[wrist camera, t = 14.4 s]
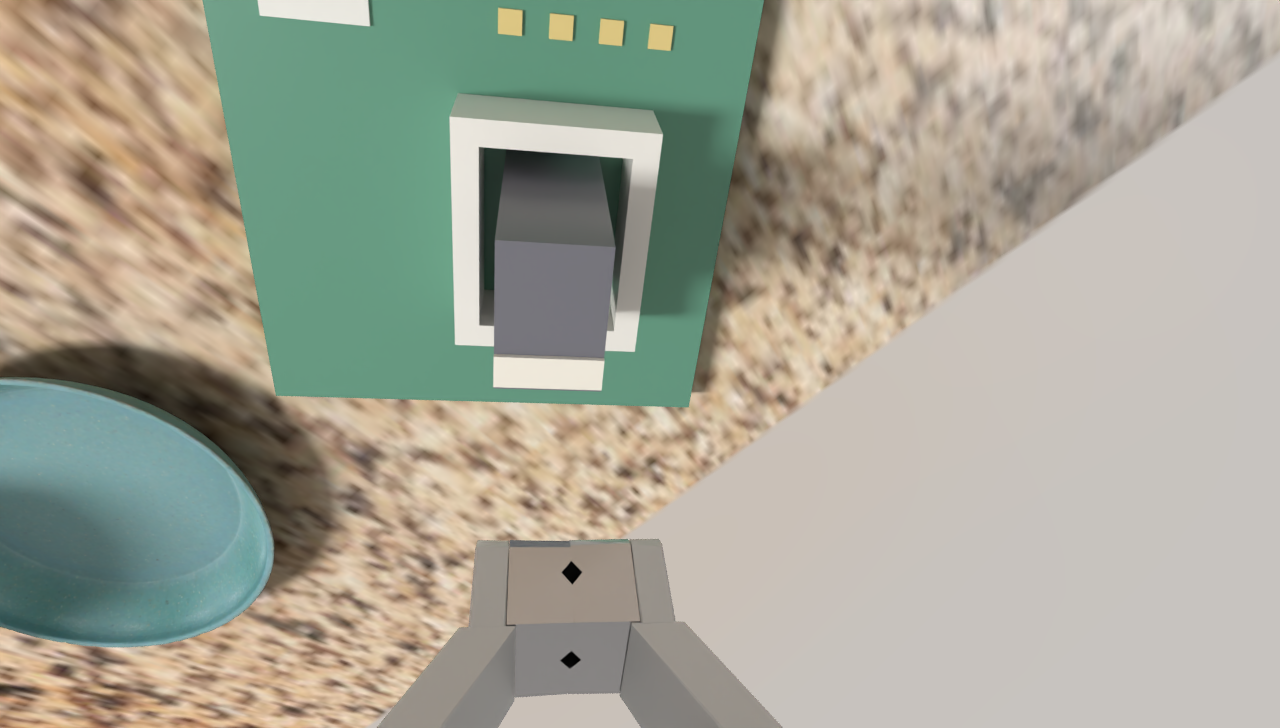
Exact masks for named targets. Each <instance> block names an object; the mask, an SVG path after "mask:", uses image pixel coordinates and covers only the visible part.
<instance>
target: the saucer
mask: <svg viewBox="0 0 1280 728" xmlns="http://www.w3.org/2000/svg"><path fill="white" fill-rule="evenodd" d="M273 561H274V539H273V533H272V530H271V527H270V523H269V521H268V518H267V516H266V513H265V511H264V509H263V506H262V504H261V502H260V500H259V498H258V496H257V494H256V493H255V491H254V489H253V487H252V486H251V484H250V483H249V481H248V480H247V478H246V477H245V476H244V474H243V473H242V472H241V470H240V469H239V468H238V467H237V466H236V464H235V463H234V462H233V461H232V460H231V459H230V458H229V457H228V456H227V455H226V454H225V453H224V452H223V451H222V450H221V449H220V448H219V447H218V446H217V445H216V444H215V443H213V442H212V441H211V440H210V439H208V438H207V437H206V436H205V435H203V434H202V433H201V432H199V431H198V430H196V429H195V428H193V427H192V426H190V425H189V424H187V423H186V422H184V421H183V420H181V419H179V418H177V417H176V416H174V415H172V414H170V413H168V412H166V411H164V410H162V409H160V408H158V407H156V406H154V405H152V404H149V403H147V402H145V401H142V400H139V399H137V398H134V397H131V396H128V395H125V394H122V393H119V392H116V391H113V390H109V389H105V388H101V387H97V386H92V385H87V384H82V383H77V382H72V381H64V380H57V379H46V378H30V377H0V627H3V628H7V629H9V630H13V631H16V632H19V633H23V634H27V635H30V636H34V637H38V638H42V639H47V640H52V641H57V642H66V643H69V644H77V645H83V646H97V647H138V646H152V645H161V644H167V643H172V642H175V641H181V640H185V639H187V638H192V637H195V636H198V635H200V634H202V633H206V632H209V631H212V630H214V629H216V628H218V627H220V626H222V625H224V624H226V623H228V622H229V621H231V620H232V619H234V618H235V617H237V616H239V615H240V614H241V613H242V612H243V611H245V610H246V609H247V608H248V607H249V606H250V605H251V604H252V603H253V602H254V601H255V600H256V598H257V597H258V596H259V595H260V593H261V592H262V590H263V589H264V587H265V585H266V584H267V582H268V579H269V577H270V574H271V571H272V567H273Z"/></svg>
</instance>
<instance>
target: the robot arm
mask: <svg viewBox="0 0 1280 728" xmlns="http://www.w3.org/2000/svg"><path fill="white" fill-rule="evenodd" d="M567 693H568V694H588V693H589V694H592V693H593V694H594V693H620V697H621V698H622V700H623V701H624V703H625V704H626V706H627V707H628V709H629V710H630V712H631V713H632V714H633V716H634V717H635V719H636V720H637V722H638V723H639V725H640V726H641V728H782V726H781V725H780V724H779V723H778V722H777V721H776V720H775V719H774V718H773V716H772V715H771V714H770V713H769V712H768V711H767V710H766V709H765V708H764V707H763V706H762V705H761V704H760V702H758V700H757V699H756V698H755V697H754V696H753V695H752V694H751V693H750V692H749V691H748V690H747V689H746V687H745V686H744V685H743V684H742V683H741V682H740V681H739V680H738V679H737V678H736V677H735V676H734V675H733V674H732V673H731V671H730V670H729V669H728V668H727V667H726V666H725V665H724V664H723V663H722V662H721V661H720V660H719V658H718V657H717V656H716V655H715V654H714V653H713V652H712V651H711V650H710V649H709V648H708V647H707V646H706V645H705V643H704V642H703V641H702V640H701V639H700V638H699V637H698V636H697V635H696V634H695V633H694V632H693V630H692V629H691V628H690V627H689V626H688V625H687V624H686V623H685V622H676V621H675V616H674V610H673V605H672V599H671V593H670V587H669V582H668V576H667V570H666V564H665V559H664V553H663V548H662V543H661V542H660V540H659V539H635V540H634V539H633V540H632V539H630V540H628V539H609V540H569V541H521V540H510V544H509V541H491V540H478V541H477V545H476V549H475V559H474V571H473V582H472V594H471V605H470V617H469V627H461V628H458V630H457V631H456V632H455V633H454V635H453V636H452V637H451V638H450V639H449V641H448V642H447V643H446V644H445V645H444V647H443V648H442V649H441V650H440V652H439V653H438V654H437V655H436V656H435V658H434V659H433V660H432V661H431V662H430V664H429V665H428V666H427V667H426V669H425V670H424V671H423V672H422V673H421V675H420V676H419V677H418V678H417V679H416V681H415V682H414V683H413V684H412V686H411V687H410V688H409V689H408V690H407V692H406V693H405V694H404V695H403V696H402V698H401V699H400V700H399V701H398V703H397V704H396V705H395V706H394V707H393V709H392V710H391V711H390V712H389V713H388V715H387V716H386V717H385V718H384V720H383V721H382V722H381V723H380V724H379V726H378V727H377V728H498V727H499V725H500V723H501V722H502V720H503V718H504V717H505V715H506V713H507V712H508V710H509V708H510V707H511V705H512V704H513V702H514V697H528V696H542V695H557V694H567Z"/></svg>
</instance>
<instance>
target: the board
mask: <svg viewBox="0 0 1280 728" xmlns="http://www.w3.org/2000/svg"><path fill="white" fill-rule="evenodd" d="M763 3H764V0H203V5H204V10H205V16H206V21H207V26H208V32H209V37H210V42H211V48H212V53H213V59H214V64H215V69H216V75H217V80H218V86H219V91H220V96H221V102H222V107H223V112H224V118H225V123H226V129H227V134H228V139H229V145H230V150H231V156H232V161H233V166H234V172H235V177H236V182H237V188H238V193H239V199H240V204H241V209H242V215H243V220H244V226H245V231H246V236H247V242H248V247H249V252H250V258H251V263H252V269H253V274H254V279H255V285H256V290H257V295H258V301H259V306H260V312H261V317H262V322H263V328H264V333H265V339H266V344H267V349H268V355H269V360H270V365H271V371H272V376H273V382H274V387H275V392H276V396H308V397H343V398H379V399H414V400H450V401H485V402H520V403H556V404H591V405H626V406H662V407H689V402H690V397H691V391H692V386H693V380H694V375H695V370H696V364H697V359H698V353H699V348H700V343H701V337H702V332H703V327H704V321H705V316H706V310H707V305H708V300H709V294H710V289H711V283H712V278H713V273H714V267H715V262H716V257H717V251H718V246H719V240H720V235H721V230H722V224H723V219H724V213H725V208H726V203H727V197H728V192H729V187H730V181H731V176H732V170H733V165H734V160H735V154H736V149H737V143H738V138H739V133H740V127H741V122H742V117H743V111H744V106H745V100H746V95H747V90H748V84H749V79H750V73H751V68H752V63H753V57H754V52H755V47H756V41H757V36H758V30H759V25H760V20H761V14H762V9H763ZM506 149H511V150H524V151H537V152H550V153H563V154H576V155H589V156H599V158H600V163H601V169H602V174H603V180H604V185H605V191H606V196H607V202H608V208H609V213H610V219H611V224H612V230H613V235H614V241H615V246H616V249H615V259H614V268H613V278H612V288H611V297H610V307H609V317H608V326H607V336H606V345H605V355H604V371H603V381H602V390H601V392H595V391H562V390H529V389H496V388H494V387H493V363H494V275H495V235H496V227H497V219H498V211H499V203H500V195H501V188H502V180H503V172H504V164H505V156H506Z"/></svg>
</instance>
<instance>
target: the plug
mask: <svg viewBox="0 0 1280 728" xmlns="http://www.w3.org/2000/svg"><path fill="white" fill-rule="evenodd" d="M615 249H616V246H615V241H614V235H613V230H612V224H611V219H610V213H609V208H608V202H607V196H606V191H605V185H604V180H603V174H602V169H601V163H600V158H599V156H589V155H576V154H563V153H550V152H537V151H524V150H511V149H506V156H505V164H504V172H503V180H502V188H501V195H500V203H499V211H498V219H497V227H496V235H495V275H494V363H493V387H494V388H496V389H529V390H562V391H595V392H601V390H602V381H603V371H604V355H605V345H606V336H607V326H608V317H609V307H610V297H611V288H612V278H613V268H614V259H615Z"/></svg>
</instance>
